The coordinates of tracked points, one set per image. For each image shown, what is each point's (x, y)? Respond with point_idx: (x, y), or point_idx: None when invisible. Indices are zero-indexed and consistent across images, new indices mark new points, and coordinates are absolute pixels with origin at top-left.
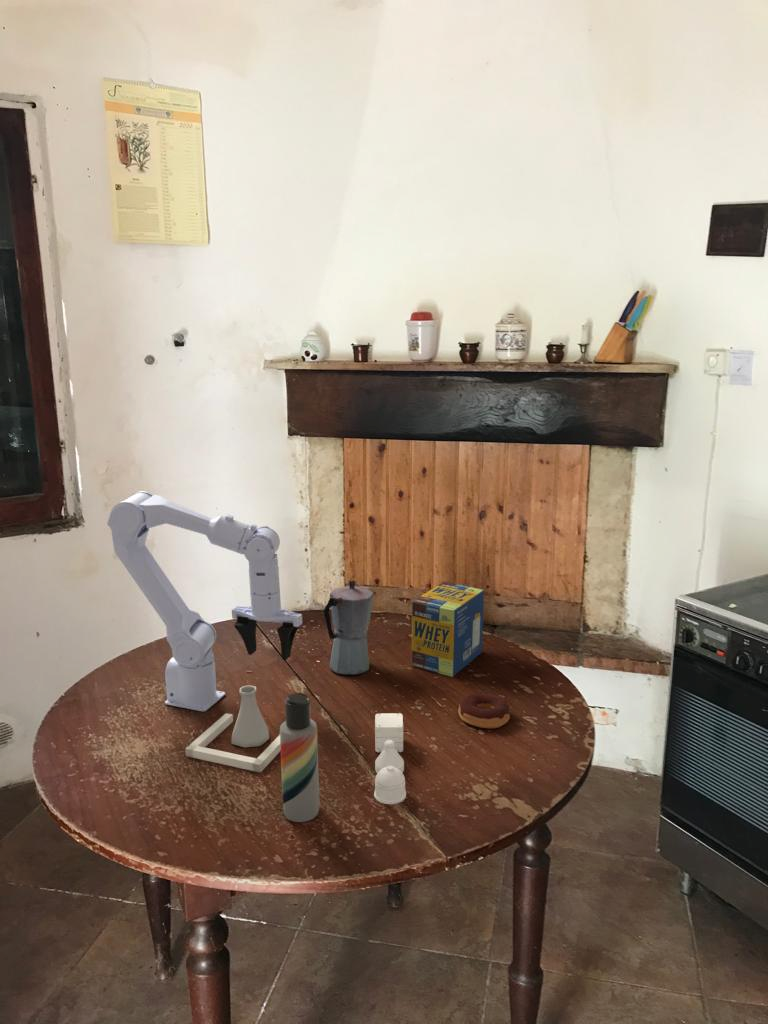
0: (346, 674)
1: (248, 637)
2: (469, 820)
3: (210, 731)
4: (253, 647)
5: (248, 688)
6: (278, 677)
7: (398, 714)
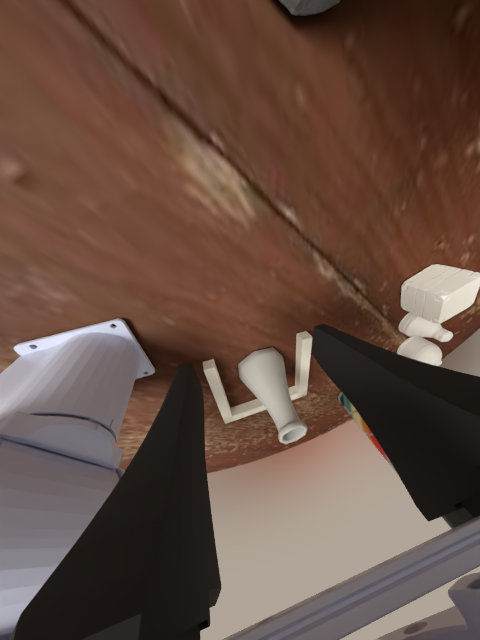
0: (324, 8)
1: (203, 466)
2: (459, 334)
3: (222, 399)
4: (196, 390)
5: (286, 427)
6: (136, 162)
7: (476, 279)
